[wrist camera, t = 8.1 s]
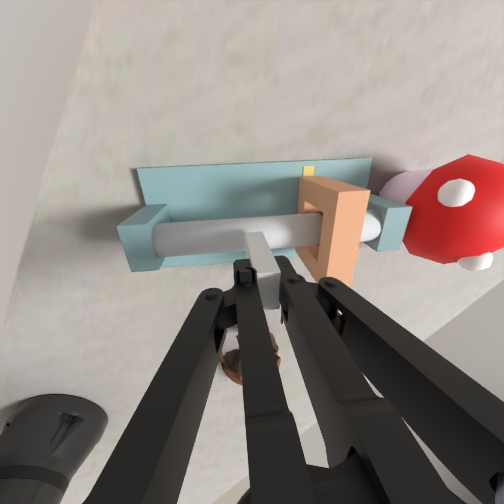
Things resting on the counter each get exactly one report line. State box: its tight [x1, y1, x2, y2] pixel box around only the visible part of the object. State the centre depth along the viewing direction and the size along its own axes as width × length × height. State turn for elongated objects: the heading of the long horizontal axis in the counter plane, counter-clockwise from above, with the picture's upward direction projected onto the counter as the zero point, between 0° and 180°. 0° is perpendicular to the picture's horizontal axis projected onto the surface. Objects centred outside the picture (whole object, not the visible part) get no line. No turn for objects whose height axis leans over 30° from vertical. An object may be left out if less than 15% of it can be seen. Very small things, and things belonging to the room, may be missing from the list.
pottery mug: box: [219, 333, 280, 385], centre depth 35 cm, size 12×10×8 cm
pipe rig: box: [116, 158, 412, 272], centre depth 23 cm, size 26×12×8 cm, turn 92°
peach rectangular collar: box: [295, 176, 371, 287], centre depth 21 cm, size 2×9×9 cm, turn 2°
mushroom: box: [379, 154, 504, 271], centre depth 22 cm, size 11×11×12 cm
